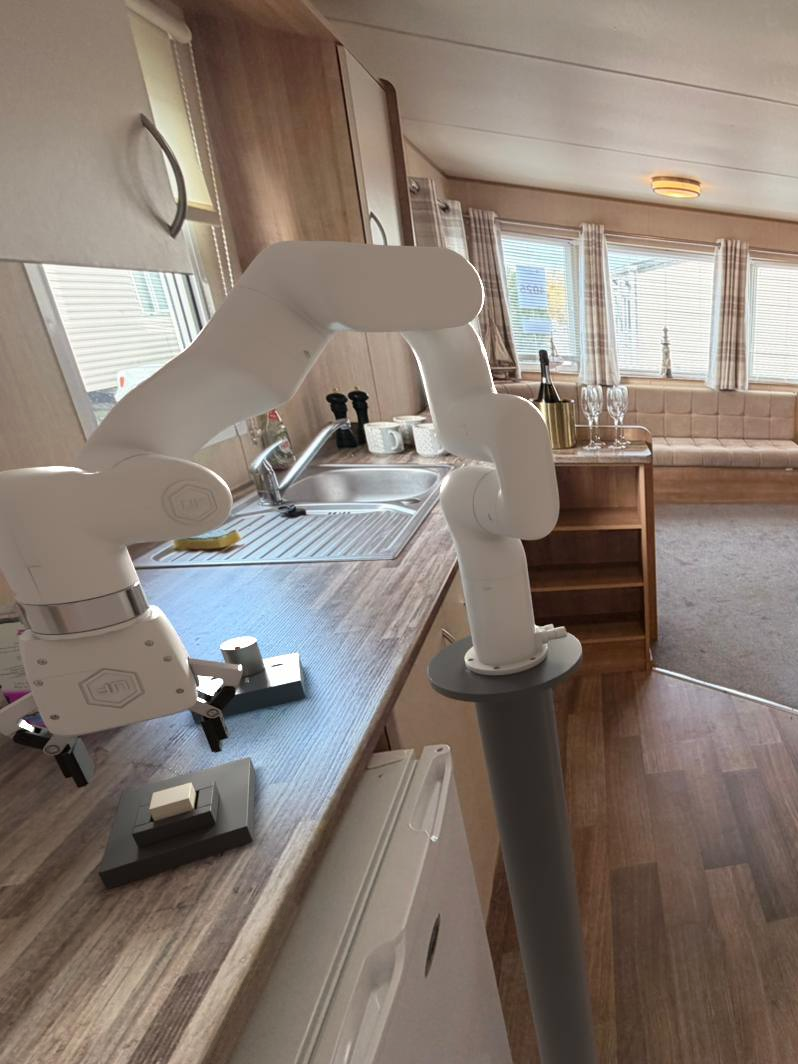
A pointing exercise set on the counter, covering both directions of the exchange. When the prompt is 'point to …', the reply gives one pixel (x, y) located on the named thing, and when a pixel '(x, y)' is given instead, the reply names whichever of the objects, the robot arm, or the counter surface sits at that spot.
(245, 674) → the volume dial
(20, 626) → the candy bar box
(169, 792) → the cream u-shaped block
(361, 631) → the counter surface
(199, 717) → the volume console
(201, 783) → the stepped base plate
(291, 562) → the counter surface
